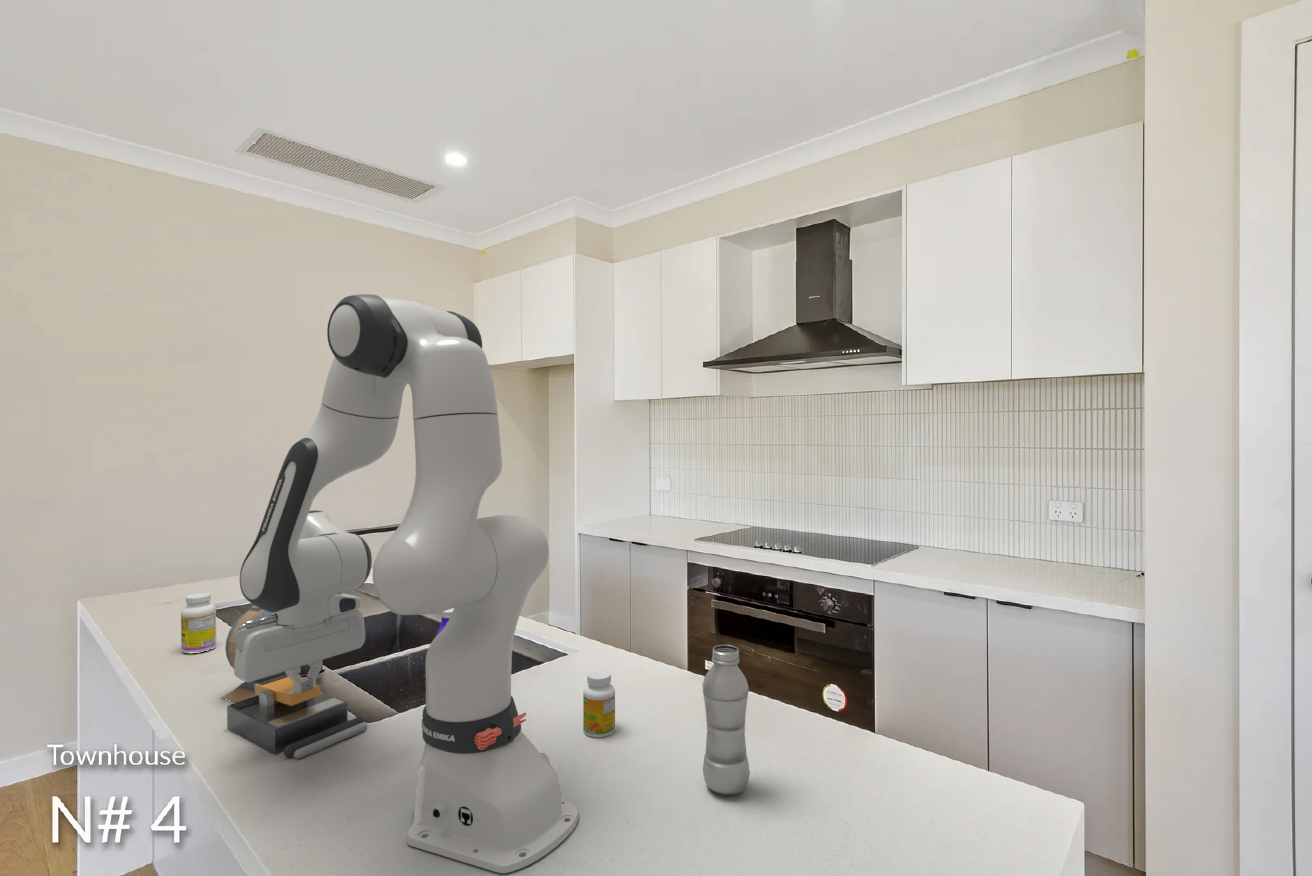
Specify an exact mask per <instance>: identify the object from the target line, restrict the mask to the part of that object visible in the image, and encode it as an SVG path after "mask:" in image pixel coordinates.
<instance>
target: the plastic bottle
mask: <svg viewBox="0 0 1312 876" xmlns="http://www.w3.org/2000/svg"><path fill="white" fill-rule="evenodd" d="M739 657H740V650H739V647H737V646H736V645H731V644H718V645H715V646H713V647H712V657H711V663H712V664H713V665H712V666H711V667H710V668H709V669H708V671H707V673H706V674H705V676H704V677H703V681H702V693H703V694H702V695H703V700H704V701H703V702H704V707H705V716H706V717H705V718H706V719H705V721H706V740H705V741H706V742H705V753H704V757H703V764H702V765H703V766H702V773H703V778H704V782H705V784H706V786H707V787H708V789H709V790H711V791H713V792H714V793H716V794H717V795H718V794H719V795H724V796H735V795H738V794H741V793H743V792H744V790H745V789H746V787H748V785H749V781H750V780H749V779H750V773H751V771H750V764H749V763H750V762H749V758H748V756H747V746H746V713H747V705H748V698H749V688H750V687H749V684H748V680H747V678H746V676H745V675H744V673H743V672H742V670H741V669H740V667H739V666H738V664H740V658H739Z"/></svg>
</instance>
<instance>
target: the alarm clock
mask: <svg viewBox="0 0 1312 876" xmlns="http://www.w3.org/2000/svg"><path fill="white" fill-rule="evenodd" d="M270 615H272V613H271V612H268V611H265V610H263V609H260V608H258V607H256V606H255V605H252V606H251V607H250V608H249V609H248V610H247V611H245V612H244V613H243V614H241V615H240V616H239V617H238V618H237V619H236V620H235V622H234V623H233V625H232V626H231V628H230V629H229V630H228V634H227V636H226V640H225V646H224V647H225V654H226V659H227V661H228V663H229V666H230V667H232V669H233V670H234V662H235V654H236V646H235V633H236V631H237V630H238V628H239V627H240V626H242V625H244V624H245V622H246V621H249V620H253V619H259V618H262V617H265V616H270ZM244 628H246V627H244ZM244 628H242V629H244ZM283 675H286V676H287V674H286V672H285V671H284V672H281V673H278V674H275V675H271V676H268V677H265V678H262V679H259V680H255V681H252V682H245V681H243V682H242V683H240V685H238V686H237V687H235V688H234V689H233V690H232V691H229V692H228V693H226V694H224V695H222V696H221V697H220V698H221V699H227V700H230V701H229V702H231V701H234V702H233V703H236V702H239V701H242V700H245V699H248V698H251V697H254V696H257V694H255V684H257V683H260V682H264V681H267V680H270V679H273V678H276V677H279V676H283ZM298 676H299V678H300V679H301V678H304V676H303V677H302V676H300V675H298ZM221 699H220V700H221Z"/></svg>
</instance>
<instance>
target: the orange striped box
mask: <svg viewBox="0 0 1312 876" xmlns="http://www.w3.org/2000/svg"><path fill="white" fill-rule="evenodd" d="M264 690H269V691H271V692H273V693H274V700H275V701H278V702H281V703H284V704H287V705H290V706H292V705H295V704H297V703H300V702H303V701H306V700H309V699H312V698H314V697H317V696H320V695H321V692H322V686H321V685H320V684H317V683H316V687H315V688H313V689H310V690H307V691H304V692H301V693H298V694H297V693H295V692H294V691H293V682H292V681H291V679H290V678H289V677H288V676H286V675H283V676H279V677H276V678H273V679H270V680H267V681H264V682H260V683H257V684H255V694H257V695H259V692H261V691H264Z"/></svg>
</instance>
